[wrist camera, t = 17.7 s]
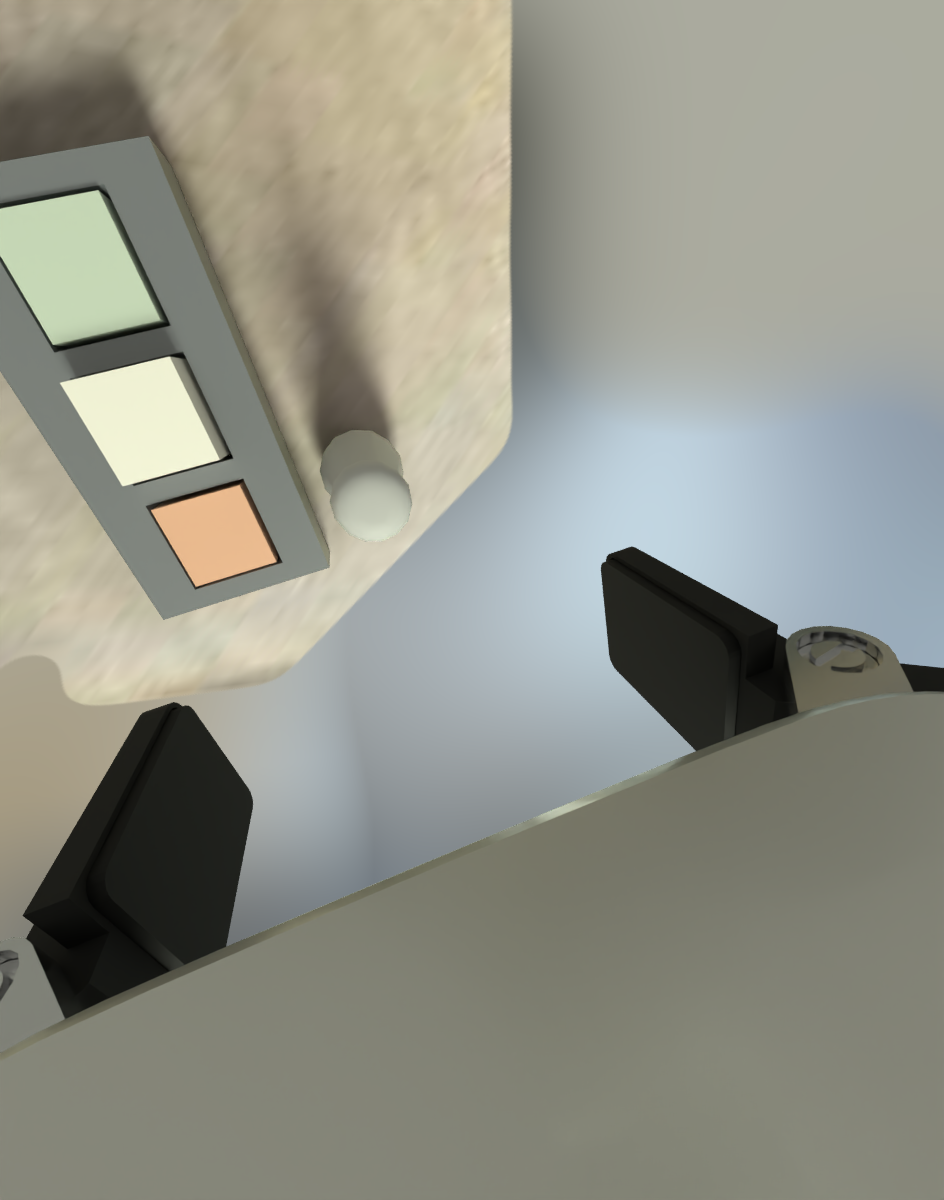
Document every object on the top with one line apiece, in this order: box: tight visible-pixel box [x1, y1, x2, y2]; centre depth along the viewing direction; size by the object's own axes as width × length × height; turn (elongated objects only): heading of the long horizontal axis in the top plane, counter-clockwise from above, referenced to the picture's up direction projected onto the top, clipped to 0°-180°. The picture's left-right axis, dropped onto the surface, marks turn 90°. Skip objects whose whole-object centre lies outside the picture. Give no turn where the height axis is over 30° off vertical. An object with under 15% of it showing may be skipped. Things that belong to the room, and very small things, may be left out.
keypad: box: [0, 136, 330, 620], centre depth 29 cm, size 24×12×4 cm, turn 12°
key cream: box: [60, 356, 231, 486], centre depth 27 cm, size 6×6×4 cm
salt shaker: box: [320, 430, 412, 541], centre depth 29 cm, size 6×6×13 cm
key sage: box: [0, 190, 171, 348], centre depth 25 cm, size 6×6×4 cm
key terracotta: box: [151, 479, 279, 587], centre depth 32 cm, size 6×6×4 cm
